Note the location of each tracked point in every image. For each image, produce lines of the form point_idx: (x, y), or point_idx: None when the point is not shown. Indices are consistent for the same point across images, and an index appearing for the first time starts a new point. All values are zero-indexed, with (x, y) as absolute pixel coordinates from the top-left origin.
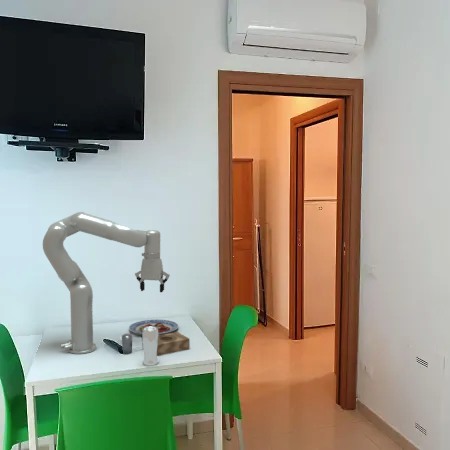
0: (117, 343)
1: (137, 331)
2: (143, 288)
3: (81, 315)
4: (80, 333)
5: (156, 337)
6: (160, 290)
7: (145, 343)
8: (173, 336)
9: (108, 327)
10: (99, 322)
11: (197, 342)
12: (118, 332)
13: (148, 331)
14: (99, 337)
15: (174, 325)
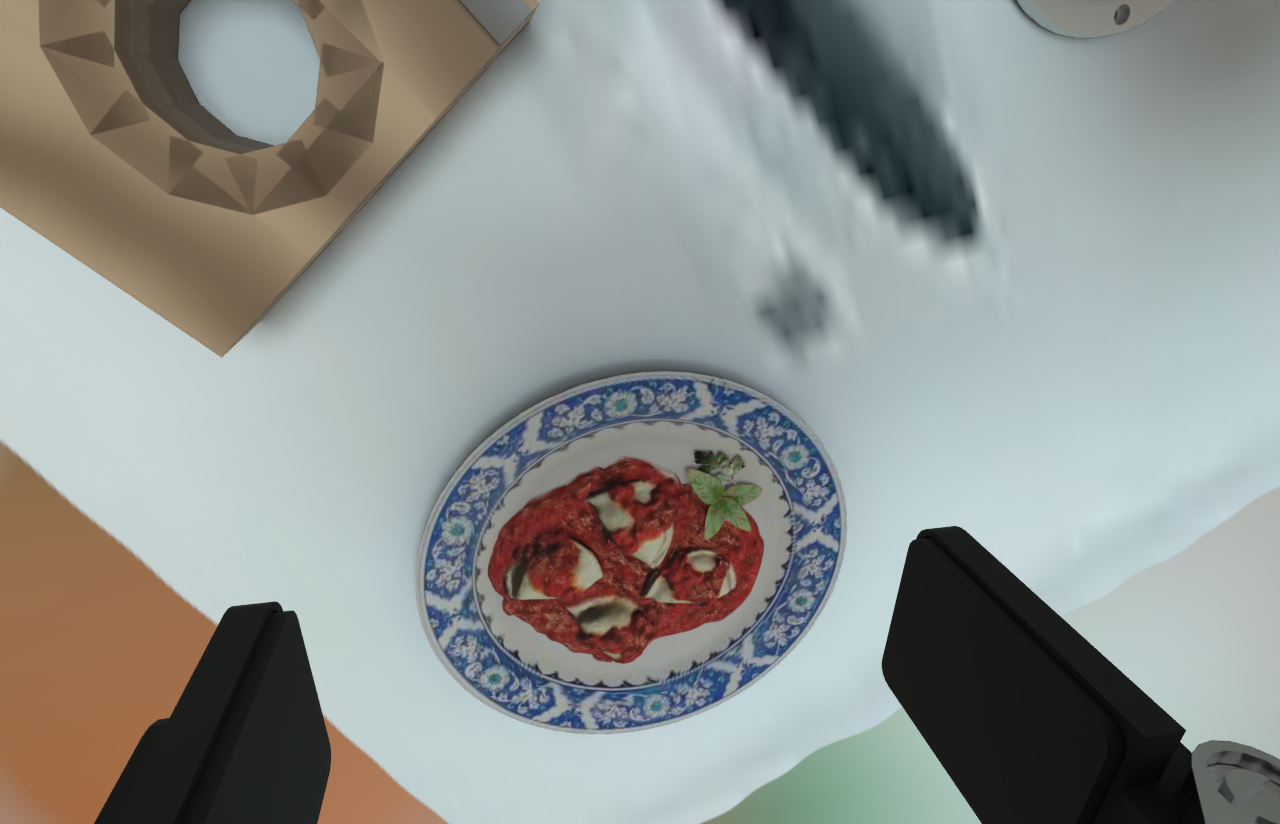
0: (836, 140)
1: (742, 424)
2: (926, 653)
3: None
4: None
5: None
6: (232, 645)
7: None
8: (168, 164)
9: (998, 503)
10: (1077, 576)
11: (32, 360)
12: (900, 421)
13: None
14: (1021, 265)
15: (478, 655)
